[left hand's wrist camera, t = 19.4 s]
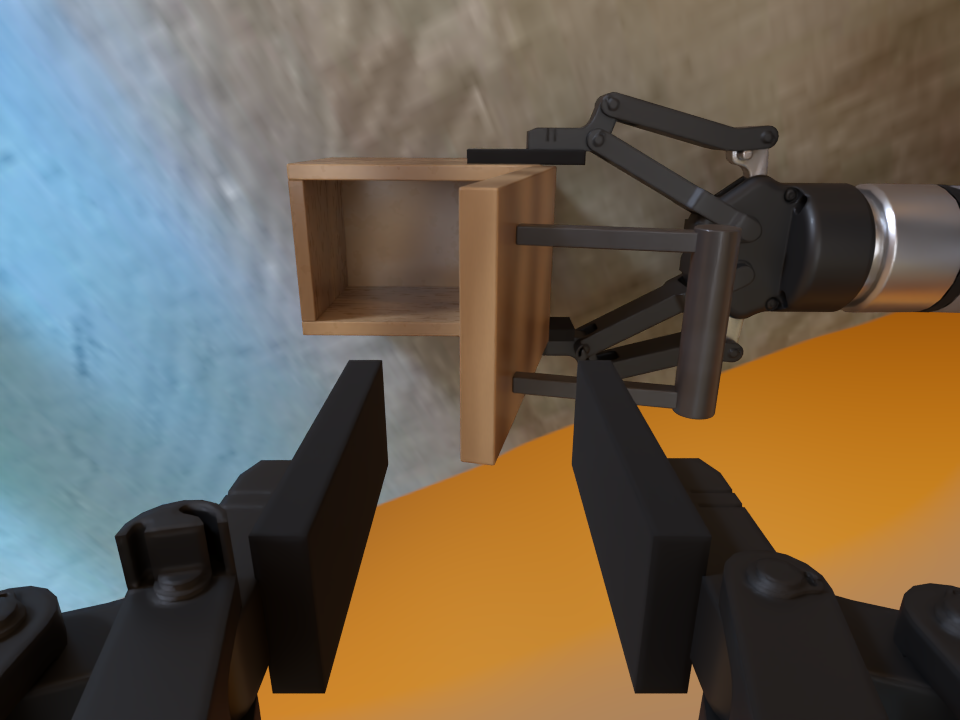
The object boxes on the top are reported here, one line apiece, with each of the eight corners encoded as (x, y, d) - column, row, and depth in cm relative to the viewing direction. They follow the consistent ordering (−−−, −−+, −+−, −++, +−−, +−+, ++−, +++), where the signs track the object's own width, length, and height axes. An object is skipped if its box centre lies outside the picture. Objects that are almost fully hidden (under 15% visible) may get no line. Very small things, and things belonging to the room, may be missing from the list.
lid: (459, 462, 22) (720, 495, 20) (457, 186, 19) (769, 194, 17) (526, 339, 35) (687, 352, 33) (532, 165, 32) (711, 168, 30)
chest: (340, 294, 45) (302, 335, 36) (330, 157, 42) (286, 163, 33) (526, 295, 45) (536, 336, 36) (530, 158, 42) (543, 165, 33)
